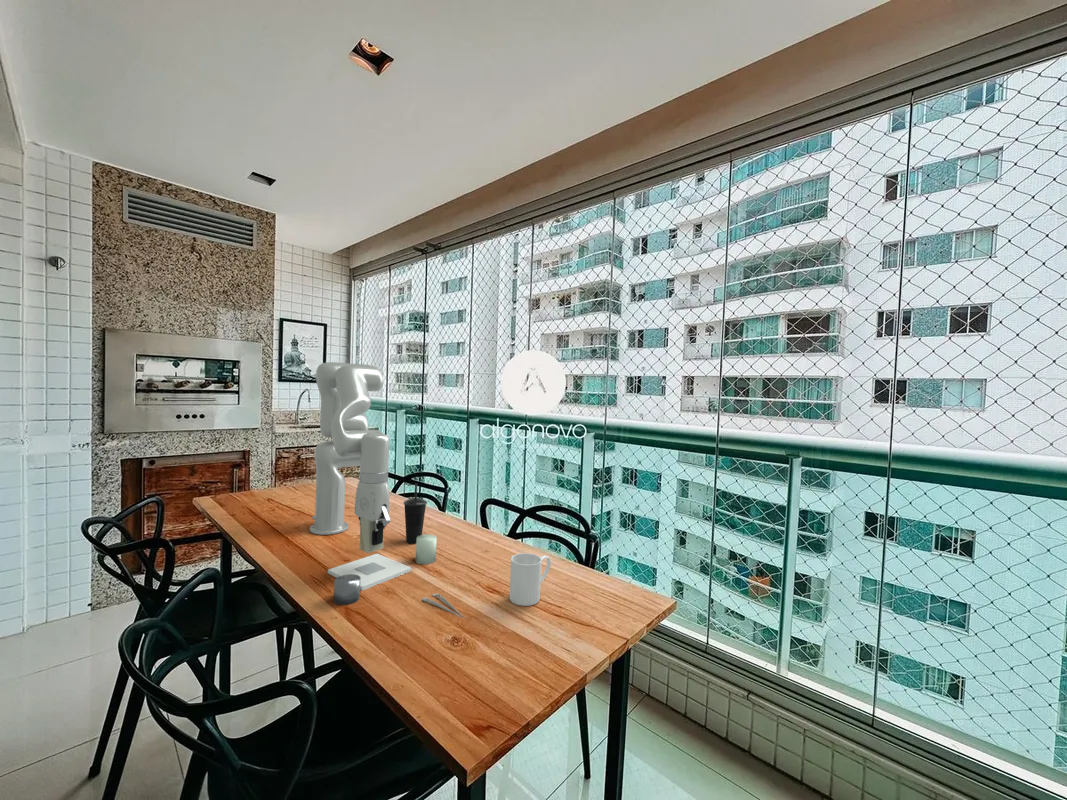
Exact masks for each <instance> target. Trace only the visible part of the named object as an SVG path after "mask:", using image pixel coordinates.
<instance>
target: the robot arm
mask: <svg viewBox="0 0 1067 800" xmlns="http://www.w3.org/2000/svg"><path fill="white" fill-rule="evenodd" d="M315 381H316V385H317V389H318V391H319V395H320V414H319V415H320V417H319V418H320V420H319V422H320V423H319V427H320V428H319V430H320V433H321V435H322V436H323V437H325V438H331V439H332V440H331V441H323V442H320V443H319V444H317V445H316V447H315V448H314V456H313V457H314V463H315V474H316V476H315V478H316V480H315V482H316V483H315V507H314V508H315V509H314V515H313V516H312V520H314V523H313V524H312V525H310V527H309V532H310V533H311V534H313V535H318V536H319V535H322V536H323V535H324V536H325V535H329V536H330V535H335V534H340V533H343V532H346V531H347V530H349V523H348V522H346V521H345V509H346V508H345V504H346V503H345V502H346V478H345V476H344V475H343V474H342V472H341V471H340V470H339V469H341V468H348V467H349V468H351V467H352V468H353V467H359V481H358V483H357V488H356V492H355V501H354V514H355V516H357V518H358V521H360V517H361V518H364V519H368V520H369V521H373V525H374V531H372V545H377V544H381V543H382V542H383V543H384V541H383V529H384V530H385V529H386V526H387V525H388V524H390V523H391V518H390V489H389V483H388V482H389V463H390V462H389V460H390V459H389V458H390V437H389V435H387V434H386V433H383V432H382V431H381V430H378V429H369V420H368V416H367V414H366V412H367V411H368V410H369V409H370V407H371V404H372V401H371V398H370V394H369V392H378V391H381V389H382V387H383V385H384V377H383V373H382V371H381V370H380V368H379V367H377V366H374V365H369V364H363V363H350V362H348V363H347V362H335V361H334V362H321V364H319V365H318V366H317V368H316V372H315ZM378 521H380V523H379V524H378V523H377V522H378Z"/></svg>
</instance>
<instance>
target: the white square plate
mask: <svg viewBox="0 0 1067 800" xmlns="http://www.w3.org/2000/svg"><path fill="white" fill-rule="evenodd" d="M412 569H413V568H412V567H410V566H408V565H406V564H404V563H401V562H399V561H396V560H393V559H392V558H389V557H386V556H384V555H381V554H380V553H374V554H371V555H369V556H365V557H363V558H359V559H357V560H353V561H350V562H347V563H344V564H341V565H338V566H334V567H332V568H328V569H327V574H329V575H331V577H335V579H336V578H337V577H339V576H342V575H347V574H354V575H358V576H360V578H361V580H360V591H365V590H367V589H370V588H372V587H375V586H378V585H380V584H382V583H385V582H387V581H390V579H391V580H393V579H395V577H396V578H398V577H400V575H401V576H403V575H405V573H406V574H408V573H410V571H411V572H412V571H413V570H412ZM377 584H378V585H377Z"/></svg>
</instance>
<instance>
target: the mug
mask: <svg viewBox="0 0 1067 800" xmlns="http://www.w3.org/2000/svg"><path fill="white" fill-rule="evenodd" d="M545 559H546V565H545V566H546V567H545V568H544V571H543V573H542V565H543V564H542V562H543V561H544V560H545ZM510 560H511V561H510V577H509V578H510V579H509V582H510V583H509V596H508V597H509V601H510V602H511V603H513V604H514V605H517V606H523V607H529V606H533V605H536V604H537V603H539V601H540V597H541V584H542V582H544V581H545V579H546V577H547V576H548V574H549V573H550V570H551V562H552V561H551V558H550V557H549V556H548V555H542V556H539V555H537V554H533V553H529V552H527V553H526V552H521V553H516V554H513V555H512V556H511V558H510Z"/></svg>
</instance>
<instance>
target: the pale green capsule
mask: <svg viewBox="0 0 1067 800" xmlns="http://www.w3.org/2000/svg"><path fill="white" fill-rule="evenodd" d="M437 538H438V537H437V536H436V535H434V534H422V535H420V536H418V537H417V541H416V544H415V545H416V546H415V547H416V548H415V562H416V564H419V565H430V564H434V563H436V560H437Z"/></svg>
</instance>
